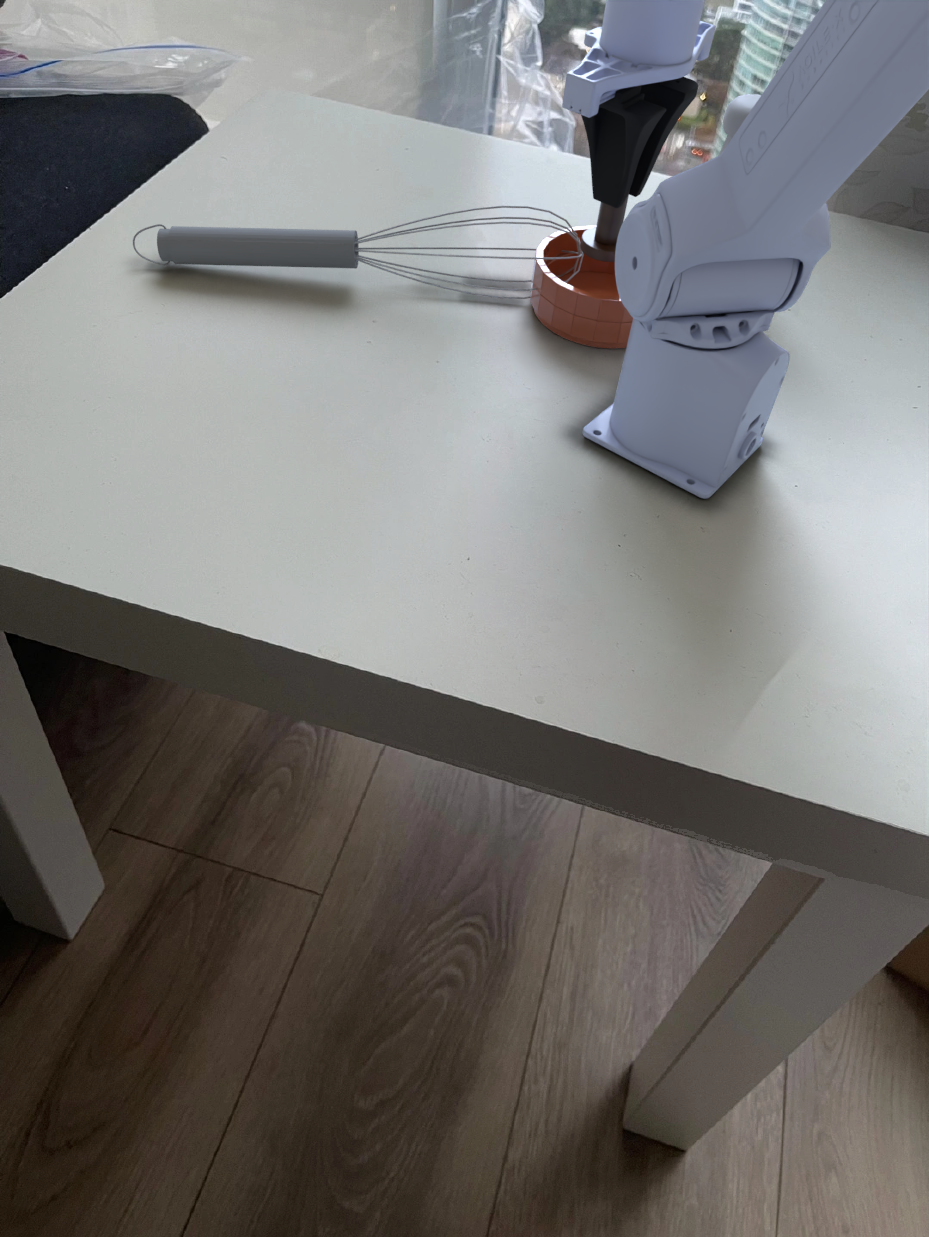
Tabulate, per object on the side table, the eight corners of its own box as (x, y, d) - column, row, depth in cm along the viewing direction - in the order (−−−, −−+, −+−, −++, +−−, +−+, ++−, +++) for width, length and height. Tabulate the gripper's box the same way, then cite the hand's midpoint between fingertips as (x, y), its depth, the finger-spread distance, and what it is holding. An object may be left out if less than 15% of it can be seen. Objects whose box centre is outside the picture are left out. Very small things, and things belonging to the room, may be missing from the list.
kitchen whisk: (145, 239, 74) (130, 157, 70) (574, 278, 76) (587, 200, 71) (124, 280, 70) (107, 196, 66) (577, 320, 72) (592, 240, 67)
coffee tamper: (639, 249, 68) (667, 121, 62) (612, 268, 66) (638, 137, 60) (597, 231, 70) (621, 104, 63) (570, 249, 68) (591, 119, 61)
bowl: (695, 310, 74) (708, 262, 71) (621, 368, 68) (632, 319, 65) (580, 259, 78) (588, 211, 75) (501, 310, 72) (506, 260, 69)
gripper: (665, -75, 60) (623, 146, 70) (533, -31, 52) (507, 210, 63) (766, -47, 58) (706, 178, 68) (642, 4, 50) (596, 249, 60)
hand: (616, 196), depth 65 cm, fingers closed on coffee tamper, 2 cm apart
